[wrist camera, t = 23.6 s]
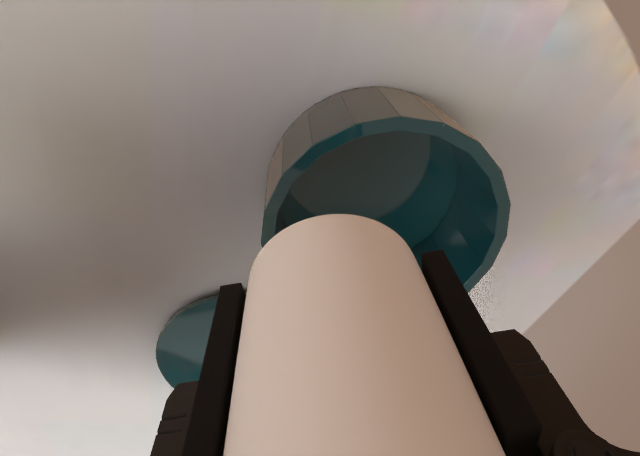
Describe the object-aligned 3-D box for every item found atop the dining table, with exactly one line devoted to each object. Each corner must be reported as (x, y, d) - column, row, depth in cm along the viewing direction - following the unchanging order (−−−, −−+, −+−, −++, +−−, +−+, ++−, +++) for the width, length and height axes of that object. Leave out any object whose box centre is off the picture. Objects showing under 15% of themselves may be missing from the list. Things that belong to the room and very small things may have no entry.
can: (339, 358, 18) (403, 855, 8) (215, 291, 15) (70, 893, 5) (449, 268, 16) (751, 811, 5) (324, 171, 13) (446, 846, 3)
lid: (190, 411, 45) (168, 505, 37) (132, 304, 36) (87, 396, 28) (335, 389, 45) (345, 479, 36) (311, 275, 36) (318, 360, 28)
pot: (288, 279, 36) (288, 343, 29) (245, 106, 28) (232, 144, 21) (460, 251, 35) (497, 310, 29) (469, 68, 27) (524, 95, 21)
